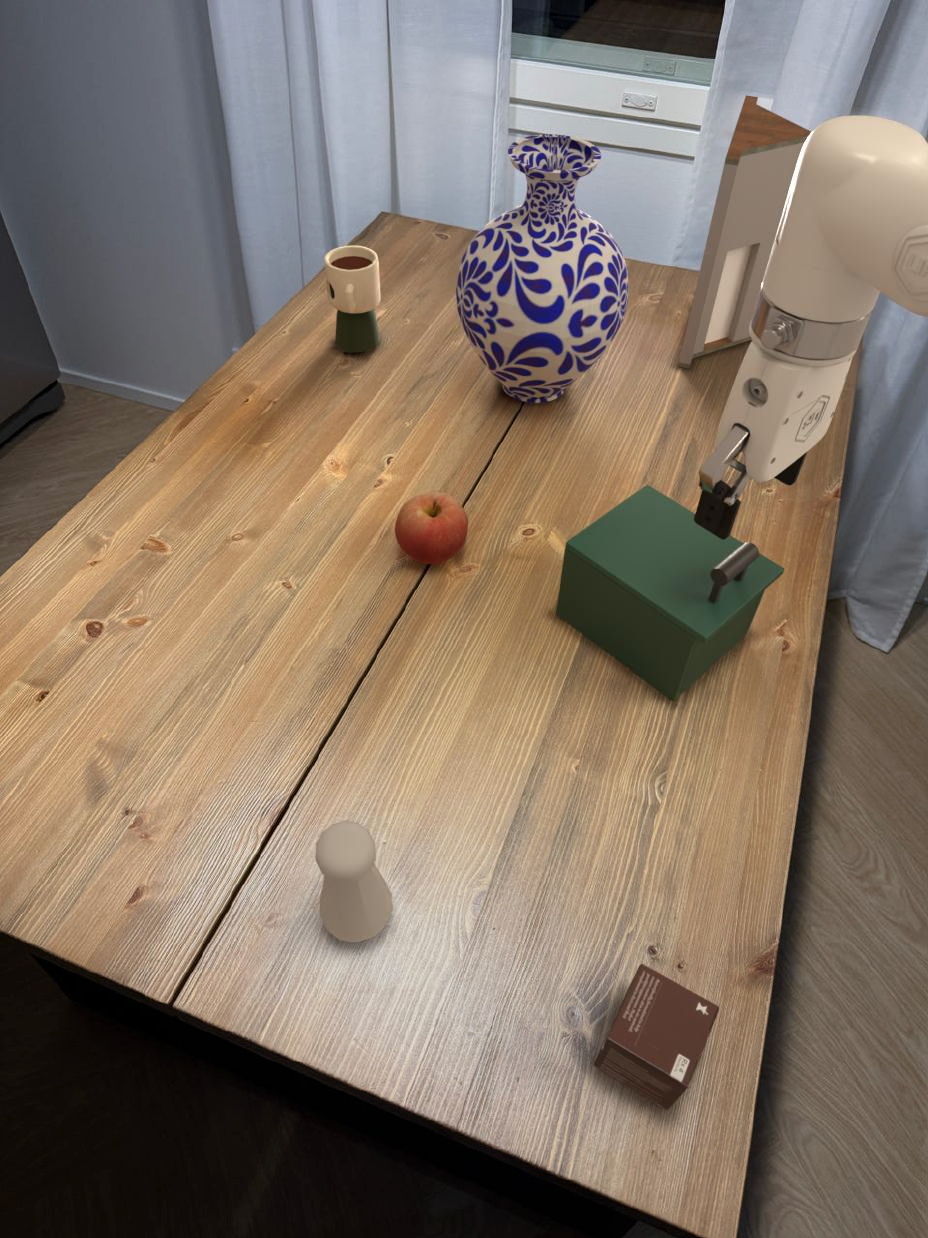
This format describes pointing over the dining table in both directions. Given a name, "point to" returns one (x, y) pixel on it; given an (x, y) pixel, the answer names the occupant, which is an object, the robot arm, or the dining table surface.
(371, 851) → the salt shaker
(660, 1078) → the box
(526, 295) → the vase
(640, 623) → the chest
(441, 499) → the apple
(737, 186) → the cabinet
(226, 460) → the dining table surface
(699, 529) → the lid
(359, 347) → the character mug
